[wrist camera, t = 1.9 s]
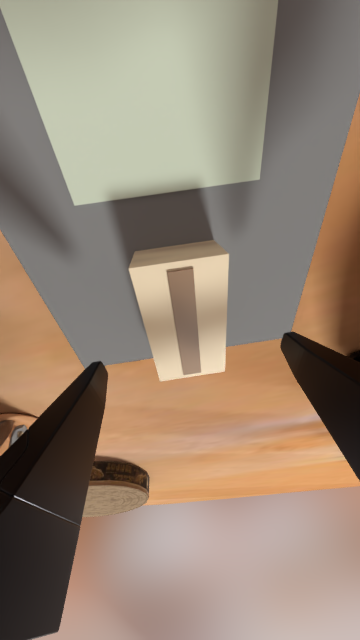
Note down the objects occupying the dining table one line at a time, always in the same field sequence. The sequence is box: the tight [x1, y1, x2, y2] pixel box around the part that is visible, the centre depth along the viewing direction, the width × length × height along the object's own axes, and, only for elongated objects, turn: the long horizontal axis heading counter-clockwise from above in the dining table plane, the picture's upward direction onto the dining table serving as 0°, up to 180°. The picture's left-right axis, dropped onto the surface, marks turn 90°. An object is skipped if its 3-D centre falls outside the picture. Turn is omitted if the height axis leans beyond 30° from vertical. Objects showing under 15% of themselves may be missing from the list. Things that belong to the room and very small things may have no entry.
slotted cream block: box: [129, 240, 229, 381], centre depth 12 cm, size 8×4×3 cm, turn 6°
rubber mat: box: [0, 0, 360, 368], centre depth 10 cm, size 20×17×1 cm
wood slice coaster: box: [82, 462, 149, 517], centre depth 30 cm, size 16×16×3 cm
